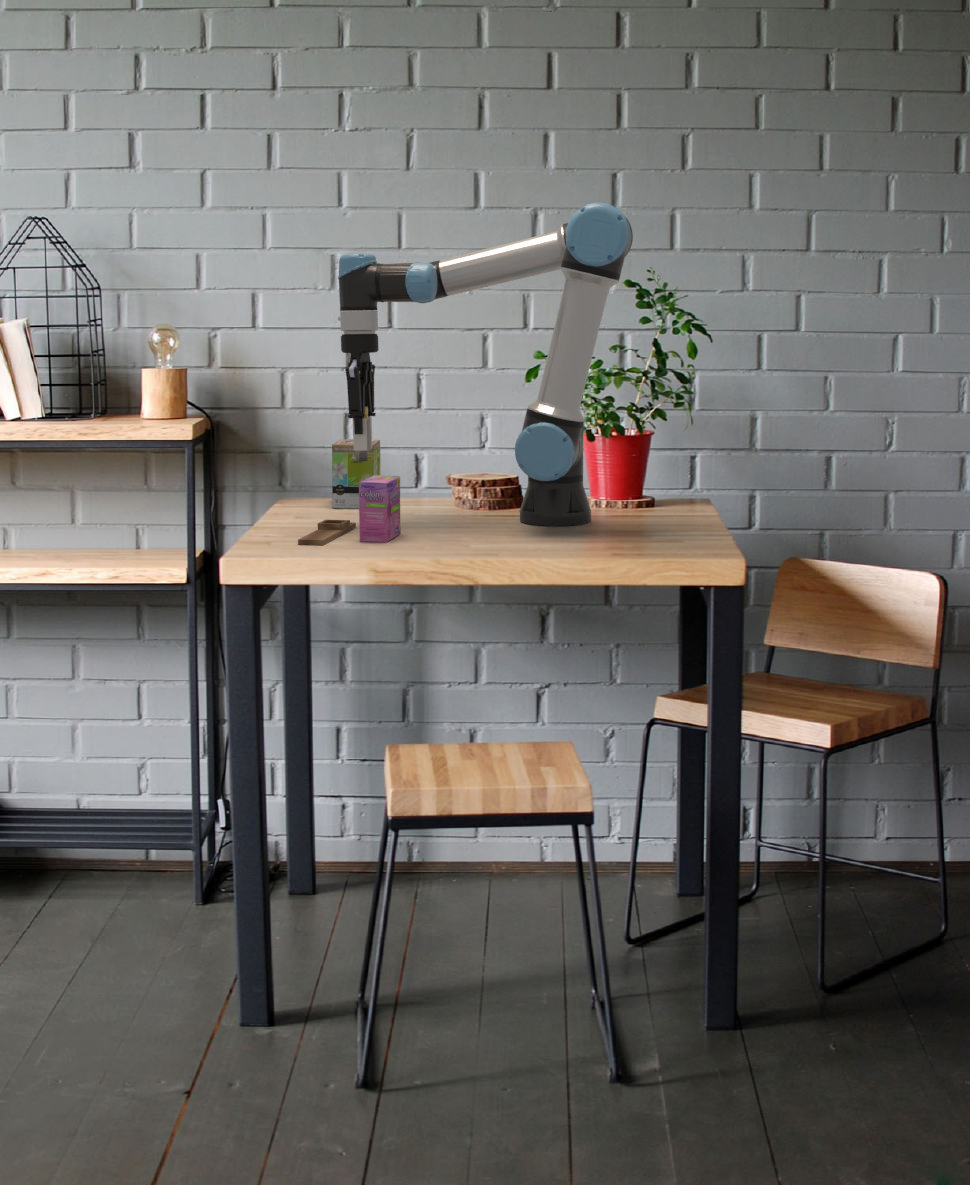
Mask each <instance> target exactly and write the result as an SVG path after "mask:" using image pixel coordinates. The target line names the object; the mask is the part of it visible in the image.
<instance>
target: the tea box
mask: <svg viewBox="0 0 970 1185" xmlns="http://www.w3.org/2000/svg"><path fill="white" fill-rule="evenodd" d="M331 458H332V459H331V475H332V476H331V478H332V480H331V482H332V484H331V485H332V486H331V487H332V488H331V490H332V492H331V494H332V495H331V496H332V497H331V502H332V504H331V505H332V508H333V509H359V482H361V481H363V480H365V479H368V478H370V477H372V476H374V475H380V476H381V440H380V439H372V449H368V461H364V462H359V461H356V460H355V451H354V446H353V438H351V439H349V438H347V439H339V440H337V441H336V442H334V443H333V444H332V445H331Z"/></svg>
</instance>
